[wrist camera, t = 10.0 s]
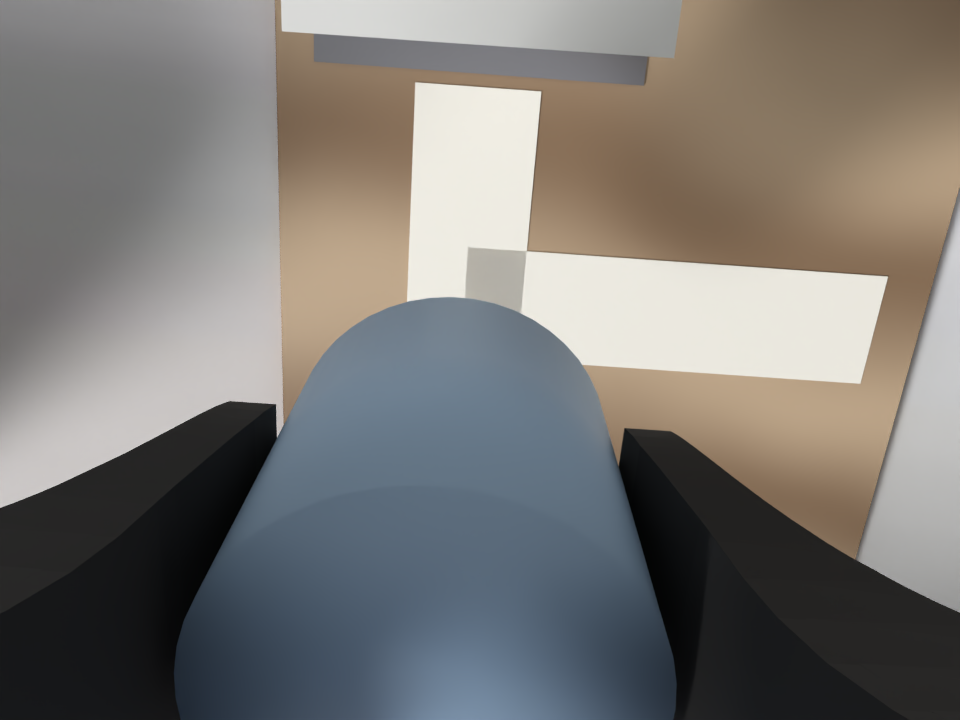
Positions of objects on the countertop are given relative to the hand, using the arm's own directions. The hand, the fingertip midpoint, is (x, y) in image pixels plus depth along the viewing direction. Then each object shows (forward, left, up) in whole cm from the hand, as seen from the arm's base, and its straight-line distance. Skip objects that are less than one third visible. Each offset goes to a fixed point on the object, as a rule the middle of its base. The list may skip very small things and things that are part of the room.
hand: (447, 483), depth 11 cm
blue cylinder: (0, 0, -1) cm, 1 cm away
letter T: (0, -4, -8) cm, 9 cm away
